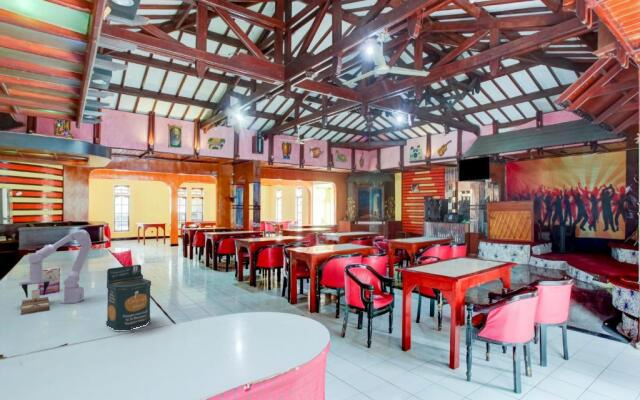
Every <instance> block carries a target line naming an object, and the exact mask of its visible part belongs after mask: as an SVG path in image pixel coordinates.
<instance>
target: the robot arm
mask: <svg viewBox="0 0 640 400" xmlns="http://www.w3.org/2000/svg"><path fill="white" fill-rule="evenodd" d="M90 237H91V236H90V234H89V232H88V231H87V230H85V229H79V230H76V231H74V232H72V233H70V234H68V235H66V236H64V237H63V238H61V239H60V240H58V241H56V242H55V243H53V244H50V243H49V244H45V245H44V246H43V248H41V249H39V250H36V251H35V253H31V254H30V255H29V256H28V261H29V280H26V281H20V282H19V283H18V285H19V287H21V288H22V289H23V291H24V293H25V298H27V299H28V298H29V295H28V294H29V293H28V287H29V286H28V285H38V284H40V283H44V291H43V295H42V296H45V295H46V294H45V292H46V289H47V287H48V285H49V283H50V282H52V279H42V269H43V261H44V259H46V258H47V257H49V256H51V255H52V254H54V253H56V252H57V249H58V248H60V247H62V246H64V245H65V244H67V243H69V242H74V241H76V242H77V243H78V244H79V245H80V246H81V247H80V250H79V251H78V255H77V256H76V259H75V261H74V263H73V265H72V269H71V270H70V273H69V274H68V276H67V277H66V278H65V279H64V281H63V285H64V287H63V288H64V289H63V292H64V294H63V296H64V297H63V298H64V299H63V300H62V301H60V304H77V303H79V302H82V301H84V300H85V298H84V297H85V290H84V287H82V286H80V285H79V282H80V275H81V271H82V269H83V267H84V264H85V262H86V259H87V257H88V254H89V253H90V251H91V248H92V240H91V238H90ZM38 282H40V283H38Z"/></svg>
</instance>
